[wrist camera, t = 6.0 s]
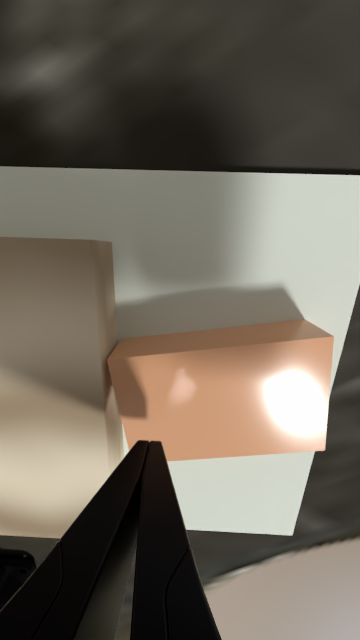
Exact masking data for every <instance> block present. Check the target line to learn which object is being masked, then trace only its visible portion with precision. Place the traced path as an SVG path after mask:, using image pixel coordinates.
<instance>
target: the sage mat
mask: <svg viewBox="0 0 360 640" xmlns="http://www.w3.org/2000/svg"><path fill="white" fill-rule="evenodd" d="M0 237H21V238H53V239H85V240H98V241H107V242H112V253H113V271H114V288H115V306H116V324H117V341H118V344H119V342H120V341H121V339H126V338H135V337H144V336H153V335H163V334H172V333H181V332H191V331H200V330H209V329H218V328H228V327H237V326H246V325H255V324H265V323H274V322H283V321H293V320H302V319H305V320H307V321H309V322H310V323H312V324H314V325H316V326H317V327H319V328H321V329H322V330H324V331H326V332H327V333H329V334H331V335H333V336H334V343H333V355H332V368H331V380H330V393H331V389H332V385H333V381H334V378H335V374H336V370H337V366H338V363H339V359H340V355H341V352H342V348H343V344H344V340H345V337H346V333H347V329H348V325H349V322H350V318H351V314H352V310H353V307H354V303H355V299H356V295H357V292H358V288H359V284H360V175H325V174H285V173H245V172H205V171H165V170H125V169H85V168H45V167H5V166H0ZM330 393H329V396H330ZM122 430H123V448H124V457H125V456H126V455H127V453H128V452H129V448H128V444H127V440H126V436H125V432H124V428H123V424H122ZM314 452H315V451H310V452H296V453H282V454H267V455H253V456H239V457H225V458H210V459H196V460H182V461H167V463H168V466H169V470H170V474H171V477H172V481H173V484H174V488H175V492H176V495H177V499H178V502H179V506H180V510H181V513H182V517H183V520H184V524H185V528H186V529H187V530H205V531H222V532H240V533H258V534H275V535H292V534H293V531H294V527H295V523H296V520H297V516H298V512H299V508H300V505H301V501H302V497H303V493H304V490H305V486H306V482H307V478H308V475H309V471H310V467H311V464H312V460H313V456H314Z"/></svg>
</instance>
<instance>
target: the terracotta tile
mask: <svg viewBox="0 0 360 640" xmlns="http://www.w3.org/2000/svg"><path fill="white" fill-rule="evenodd" d="M333 343H334V336H333V335H331V334H329V333H327V332H326V331H324V330H322V329H321V328H319V327H317V326H316V325H314V324H312V323H310V322H309V321H307V320H305V319H302V320H293V321H283V322H274V323H265V324H255V325H246V326H237V327H228V328H218V329H209V330H200V331H191V332H181V333H172V334H163V335H153V336H144V337H135V338H126V339H121V341H120V342H119V344H118V345H117V346H116V348H115V349H114V350H113V352H112V353H111V354H110V356H109V357H108V359H107V362H108V367H109V371H110V375H111V379H112V383H113V387H114V391H115V395H116V399H117V403H118V407H119V411H120V416H121V420H122V424H123V428H124V432H125V436H126V440H127V444H128V448H129V451H130V449H131V448H132V447H133V446H134V444H135V443H136V442H137V441H138V440H148V441H149V442H150V441H152V440H153V441H161V442H162V445H163V449H164V452H165V456H166V459H167V461H182V460H196V459H210V458H225V457H239V456H253V455H267V454H282V453H296V452H310V451H325V443H326V430H327V418H328V405H329V393H330V380H331V368H332V355H333Z"/></svg>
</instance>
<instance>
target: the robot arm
mask: <svg viewBox="0 0 360 640" xmlns="http://www.w3.org/2000/svg"><path fill="white" fill-rule="evenodd" d="M136 544H137V550H136V564H135V578H134V592H133V607H132V621H131V635H130V640H222V639H221V637H220V634H219V632H218V629H217V626H216V624H215V621H214V618H213V615H212V612H211V610H210V607H209V604H208V601H207V598H206V596H205V593H204V589H203V586H202V583H201V580H200V576H199V573H198V570H197V567H196V563H195V559H194V556H193V552H192V549H191V548H190V542H189V538H188V535H187V531H186V528H185V524H184V520H183V517H182V513H181V510H180V506H179V502H178V499H177V495H176V492H175V488H174V484H173V481H172V477H171V474H170V470H169V466H168V463H167V459H166V456H165V452H164V449H163V445H162V442H161V441H153V440H152V441H150V442H149V441H148V440H138V441H137V442H136V443H135V444H134V446H133V447H132V448H131V449H130V451H129V452H128V453H127V455H126V456H125V457H124V458H123V460H122V461H121V462H120V463H119V465H118V466H117V467H116V469H115V470H114V471H113V472H112V474H111V475H110V476H109V477H108V479H107V480H106V481H105V482H104V484H103V485H102V486H101V488H100V489H99V490H98V491H97V493H96V494H95V495H94V496H93V498H92V499H91V500H90V502H89V503H88V504H87V505H86V507H85V508H84V509H83V510H82V512H81V513H80V514H79V516H78V517H77V518H76V519H75V521H74V522H73V523H72V524H71V526H70V527H69V528H68V529H67V531H66V532H65V533H64V535H63V536H62V537H61V541H58V542H57V543H56V544H55V546H54V547H53V548H52V550H51V551H50V552H49V553H48V555H47V556H46V557H45V559H44V560H43V561H42V562H41V563H40V565H39V566H38V567H37V568H36V569H35V565H34V563H33V562H32V561H31V560H28V559H17V558H0V640H115V635H116V631H117V626H118V622H119V618H120V613H121V609H122V605H123V600H124V596H125V592H126V587H127V583H128V579H129V574H130V570H131V566H132V561H133V557H134V553H135V548H136Z"/></svg>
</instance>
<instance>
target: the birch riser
mask: <svg viewBox="0 0 360 640" xmlns="http://www.w3.org/2000/svg"><path fill="white" fill-rule="evenodd" d="M117 345H118V341H117V324H116V306H115V288H114V271H113V253H112V242H107V241H98V240H85V239H53V238H21V237H0V535H11V536H28V537H45V538H61V537H62V536H63V535H64V533H65V532H66V531H67V529H68V528H69V527H70V526H71V524H72V523H73V522H74V521H75V519H76V518H77V517H78V516H79V514H80V513H81V512H82V510H83V509H84V508H85V507H86V505H87V504H88V503H89V502H90V500H91V499H92V498H93V496H94V495H95V494H96V493H97V491H98V490H99V489H100V488H101V486H102V485H103V484H104V482H105V481H106V480H107V479H108V477H109V476H110V475H111V474H112V472H113V471H114V470H115V469H116V467H117V466H118V465H119V463H120V462H121V461H122V460H123V458H124V448H123V430H122V420H121V416H120V411H119V407H118V403H117V399H116V395H115V391H114V387H113V383H112V379H111V375H110V371H109V367H108V362H107V359H108V357H109V356H110V354H111V353H112V352H113V350H114V349H115V348H116V346H117Z"/></svg>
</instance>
